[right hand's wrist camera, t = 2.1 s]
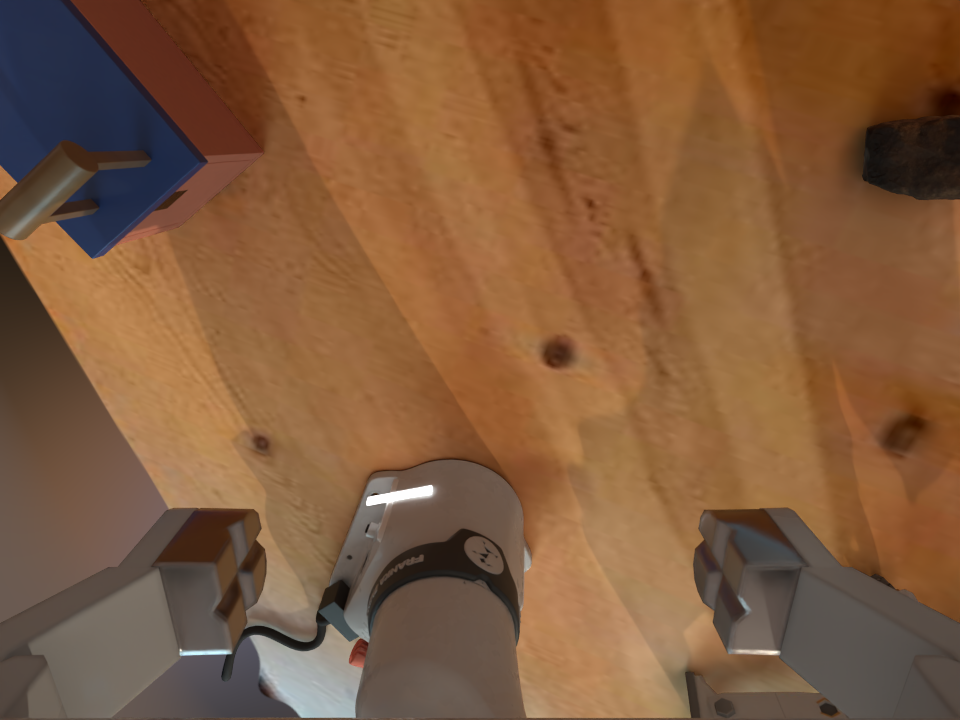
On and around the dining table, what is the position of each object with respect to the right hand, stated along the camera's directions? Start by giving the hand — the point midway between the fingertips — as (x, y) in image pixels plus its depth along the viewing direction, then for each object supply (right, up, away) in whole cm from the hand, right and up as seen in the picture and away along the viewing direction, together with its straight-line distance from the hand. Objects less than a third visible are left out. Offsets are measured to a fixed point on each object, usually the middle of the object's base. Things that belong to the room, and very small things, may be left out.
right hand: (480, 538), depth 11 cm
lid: (-25, +18, +24) cm, 39 cm away
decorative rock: (+35, +20, +35) cm, 53 cm away
